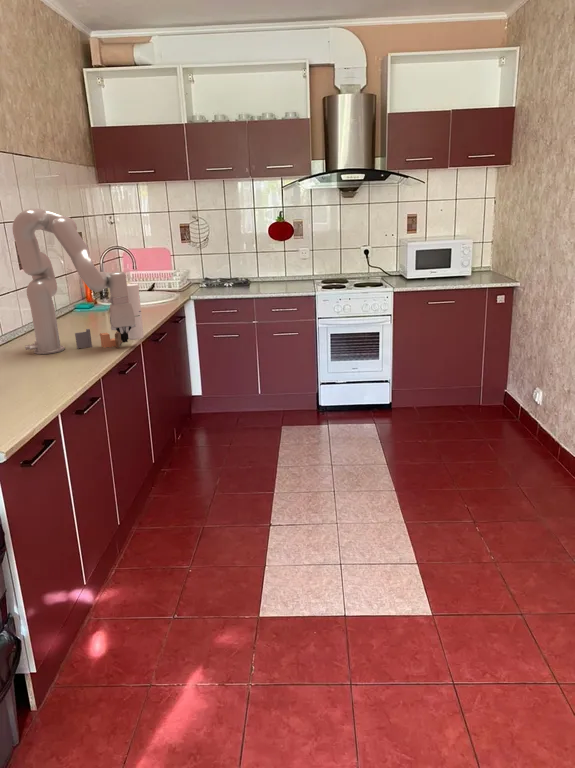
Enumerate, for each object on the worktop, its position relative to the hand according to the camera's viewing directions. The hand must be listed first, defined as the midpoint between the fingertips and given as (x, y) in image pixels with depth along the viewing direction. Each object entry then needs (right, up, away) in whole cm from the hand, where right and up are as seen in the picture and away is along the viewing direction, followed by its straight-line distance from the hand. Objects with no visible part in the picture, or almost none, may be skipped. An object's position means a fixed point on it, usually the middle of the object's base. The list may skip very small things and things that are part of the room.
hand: (125, 341), depth 261 cm
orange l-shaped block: (-8, -2, +3) cm, 9 cm away
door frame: (-12, -1, +6) cm, 14 cm away
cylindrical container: (0, +3, +19) cm, 19 cm away
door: (-4, -1, +5) cm, 6 cm away
